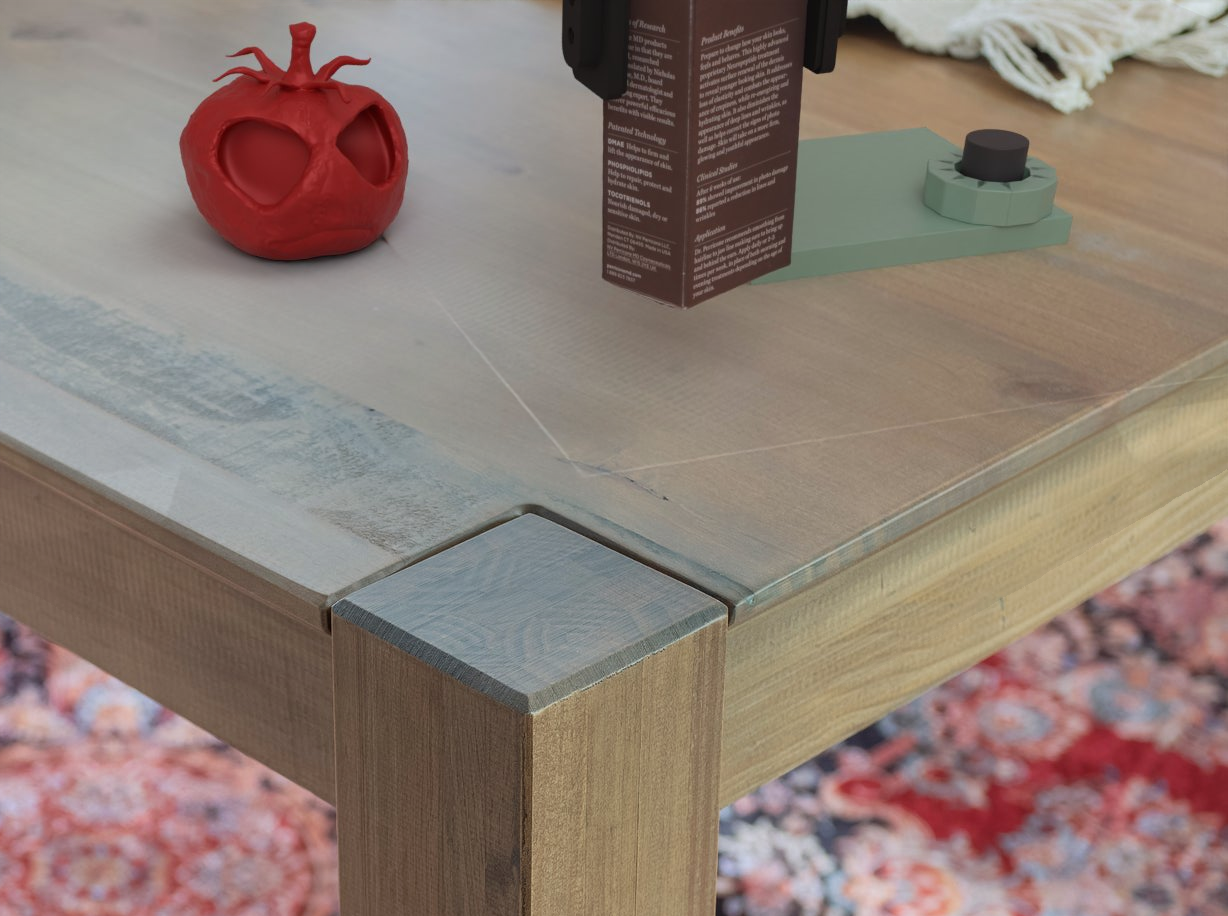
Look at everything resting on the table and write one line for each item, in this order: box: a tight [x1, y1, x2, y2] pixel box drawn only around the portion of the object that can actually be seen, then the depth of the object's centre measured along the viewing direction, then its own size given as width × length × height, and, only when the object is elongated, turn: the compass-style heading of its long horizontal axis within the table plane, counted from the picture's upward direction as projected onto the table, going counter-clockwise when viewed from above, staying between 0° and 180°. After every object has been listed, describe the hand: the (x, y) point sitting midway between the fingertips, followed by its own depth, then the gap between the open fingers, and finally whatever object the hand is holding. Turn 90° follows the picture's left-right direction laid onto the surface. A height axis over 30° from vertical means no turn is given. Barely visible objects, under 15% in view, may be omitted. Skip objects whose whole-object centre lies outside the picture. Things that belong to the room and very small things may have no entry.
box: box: [601, 0, 808, 311], centre depth 65 cm, size 6×4×12 cm
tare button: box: [960, 128, 1030, 183], centre depth 86 cm, size 3×3×2 cm
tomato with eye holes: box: [178, 21, 410, 261], centre depth 83 cm, size 10×10×9 cm
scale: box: [747, 126, 1074, 286], centre depth 88 cm, size 16×13×3 cm
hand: (703, 71), depth 64 cm, fingers closed on box, 7 cm apart
